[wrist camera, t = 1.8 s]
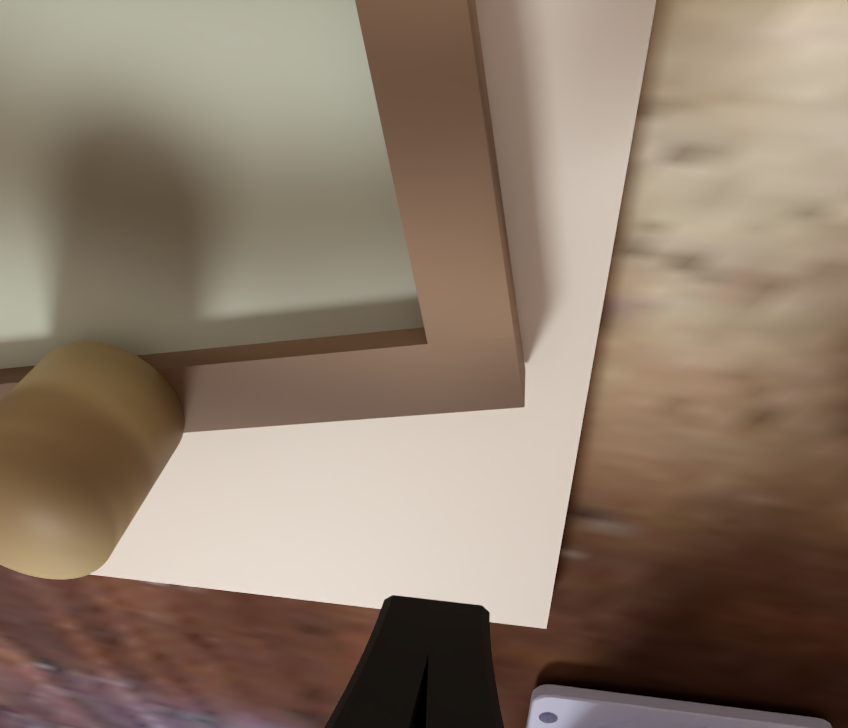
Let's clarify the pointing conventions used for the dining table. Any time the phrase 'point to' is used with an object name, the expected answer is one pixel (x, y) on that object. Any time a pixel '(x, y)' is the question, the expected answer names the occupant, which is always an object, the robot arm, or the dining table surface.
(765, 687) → the dining table surface
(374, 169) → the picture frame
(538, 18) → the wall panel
